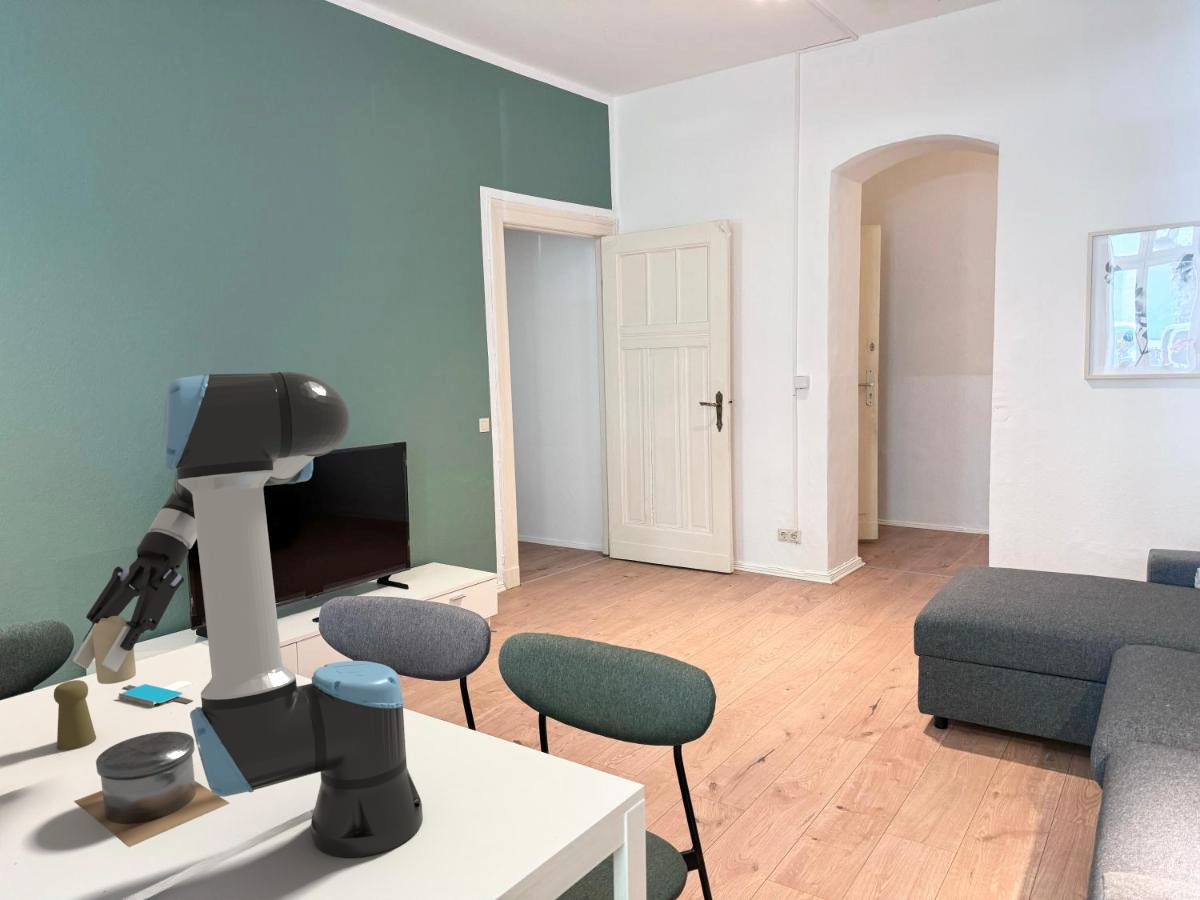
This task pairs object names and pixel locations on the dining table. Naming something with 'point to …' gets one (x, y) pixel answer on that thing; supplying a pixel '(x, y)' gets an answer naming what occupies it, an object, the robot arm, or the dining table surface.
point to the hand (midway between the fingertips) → (94, 666)
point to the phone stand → (155, 694)
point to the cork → (73, 716)
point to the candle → (102, 644)
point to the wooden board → (143, 831)
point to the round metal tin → (147, 777)
